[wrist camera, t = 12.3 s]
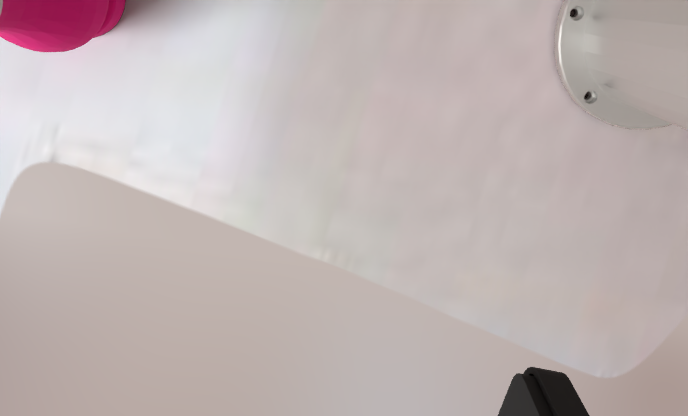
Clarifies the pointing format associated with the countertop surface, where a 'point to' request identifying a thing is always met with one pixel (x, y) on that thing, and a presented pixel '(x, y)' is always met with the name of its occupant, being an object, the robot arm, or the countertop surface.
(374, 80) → the countertop surface
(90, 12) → the pepper mill
